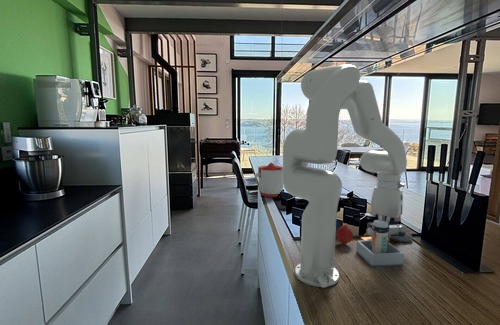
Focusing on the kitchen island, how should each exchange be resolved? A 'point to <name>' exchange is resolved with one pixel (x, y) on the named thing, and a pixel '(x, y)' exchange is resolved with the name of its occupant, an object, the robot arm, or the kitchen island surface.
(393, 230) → the crank arm
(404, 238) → the crank base
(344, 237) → the onion
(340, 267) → the kitchen island surface
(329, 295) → the kitchen island surface
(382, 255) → the tray
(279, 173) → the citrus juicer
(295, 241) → the kitchen island surface
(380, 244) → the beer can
